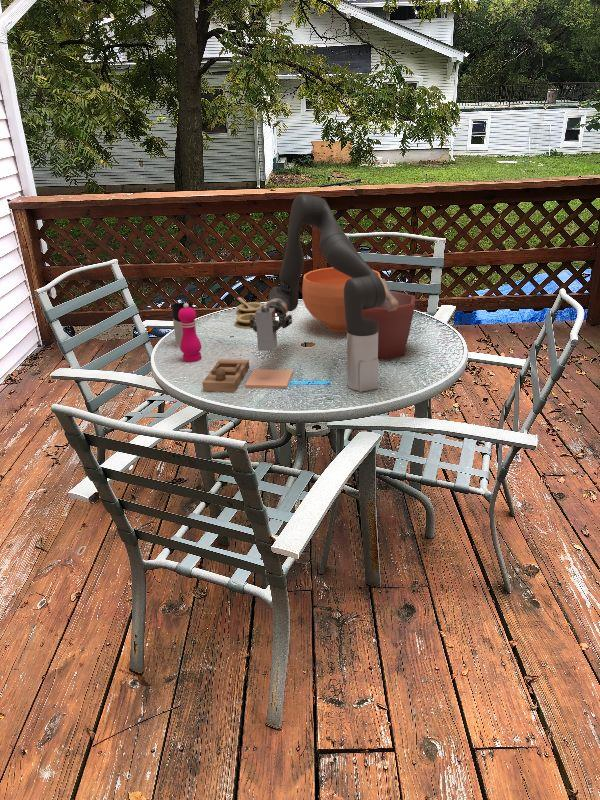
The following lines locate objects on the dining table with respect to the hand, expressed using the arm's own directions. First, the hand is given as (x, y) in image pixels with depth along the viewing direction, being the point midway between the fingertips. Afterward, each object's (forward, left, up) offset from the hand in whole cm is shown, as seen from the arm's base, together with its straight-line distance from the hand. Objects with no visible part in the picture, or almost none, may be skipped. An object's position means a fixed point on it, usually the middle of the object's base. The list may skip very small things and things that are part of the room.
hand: (264, 328), depth 189 cm
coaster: (+2, -1, -18) cm, 18 cm away
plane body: (+9, +11, -18) cm, 23 cm away
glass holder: (+47, +15, -18) cm, 53 cm away
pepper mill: (+33, +17, -18) cm, 41 cm away
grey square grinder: (+2, -1, -7) cm, 7 cm away
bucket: (+9, -44, -18) cm, 49 cm away
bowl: (+40, -44, -18) cm, 63 cm away
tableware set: (+71, -17, -19) cm, 75 cm away
